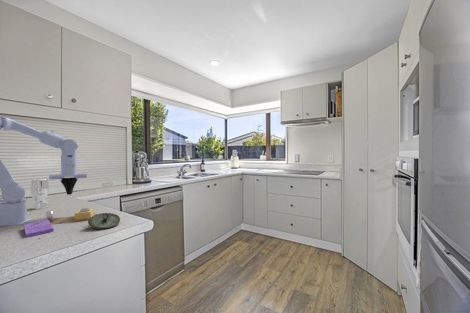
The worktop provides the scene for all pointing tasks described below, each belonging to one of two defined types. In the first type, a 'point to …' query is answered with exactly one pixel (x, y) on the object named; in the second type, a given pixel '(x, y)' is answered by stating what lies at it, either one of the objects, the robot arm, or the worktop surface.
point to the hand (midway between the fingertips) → (69, 194)
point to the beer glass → (39, 193)
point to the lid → (104, 220)
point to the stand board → (64, 218)
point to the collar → (83, 215)
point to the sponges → (38, 228)
